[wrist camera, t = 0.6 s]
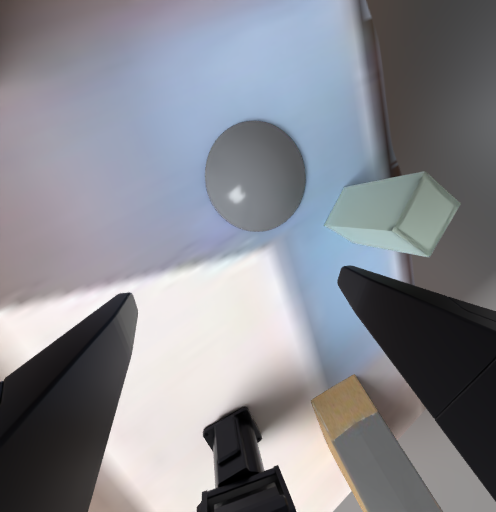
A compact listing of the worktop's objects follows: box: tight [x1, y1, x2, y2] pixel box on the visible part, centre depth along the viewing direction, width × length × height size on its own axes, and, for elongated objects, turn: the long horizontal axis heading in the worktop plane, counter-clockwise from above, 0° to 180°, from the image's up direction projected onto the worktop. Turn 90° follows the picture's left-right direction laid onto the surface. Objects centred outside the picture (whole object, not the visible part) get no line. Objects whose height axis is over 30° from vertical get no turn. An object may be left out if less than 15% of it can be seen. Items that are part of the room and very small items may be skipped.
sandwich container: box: [311, 375, 443, 512], centre depth 25 cm, size 9×15×15 cm, turn 22°
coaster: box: [205, 121, 305, 232], centre depth 21 cm, size 11×11×1 cm
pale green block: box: [324, 171, 461, 257], centre depth 21 cm, size 5×5×9 cm
